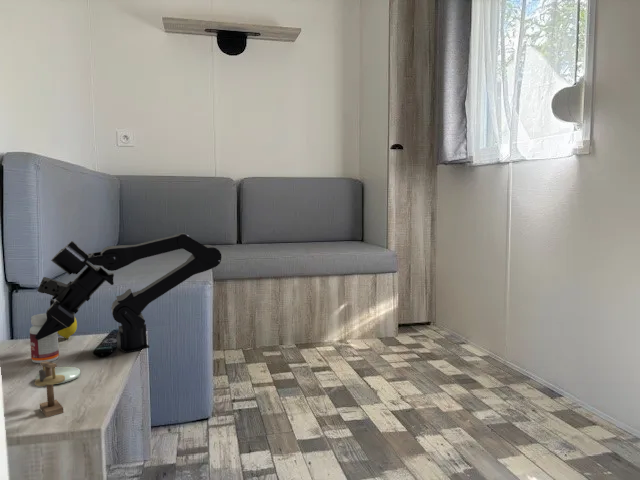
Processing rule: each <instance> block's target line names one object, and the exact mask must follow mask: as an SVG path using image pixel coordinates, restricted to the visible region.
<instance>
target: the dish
mask: <svg viewBox="0 0 640 480" xmlns="http://www.w3.org/2000/svg"><path fill="white" fill-rule="evenodd" d="M55 375H64V376H65V380H64V381H63V382H61V383H58V384H57V385H59V384H65V383H67V382H71V381H73V380H76V379H77V378H79V377H80V376H81V370H80V368H78V367H75V366H59V367H55ZM39 378H40V376H39V373H38V374H37V375H35V380H37V379H39Z"/></svg>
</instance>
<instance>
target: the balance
mask: <svg viewBox="0 0 640 480" xmlns="http://www.w3.org/2000/svg"><path fill="white" fill-rule="evenodd" d="M39 364H40V366H41V367H42V369H40V370H39V373H38V374H39V376H40V378H39V379H37V380H36V379H35V380H34V385H35V386H37V387H44V386H46V399H47V400H46V401H44V402H40V403H39V409H40V411H41V412H42V414H43V415H44V416H45V417H46V418H48V417H52V416H56V415H59V414H63V413H64V407H63V406H62V404H61V403H60V402H59V400H57V399H55V389H54V385H59V384H58V383H61V382H63V381H64V380H65V376H64V375H55V368H58V366H57V363H56V362H53V361H51V362H47V361H45V362H40V363H39ZM61 384H62V383H61Z"/></svg>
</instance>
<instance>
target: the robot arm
mask: <svg viewBox="0 0 640 480" xmlns="http://www.w3.org/2000/svg"><path fill="white" fill-rule="evenodd" d="M182 249H183V250H185V251H186V252H189V254H191V255H190V256H189V257H188V258H187V259H186V260H185V262H183V263H181V264H180V265H178V266H177V267H175V268H173V269H172V270H171V271H169V272H167V273H165V274H164V275H162V276H161V277H160V278H158V279H156V280H154V281H153V282H151V283H149V284H148V285H147V286H145V287H143V288H142V289H140V290H137V291H134V292H132V289H131V288H128V289H127V290H126V291H125V292H123V293H122V294H119V295H116V299H115V300H114V301H113V302H112V303H111V309H110V310H111V315H112V317H113V320H114V321H115V322H116V323H119V324H121V325H119V326H118V331H117V333H116V340H117V341H116V342H117V347H116V348H118V349H119V350H120V351H122V352H123V353H125V354H126V353H132V352H136V351H140V350H146V349H149V348H150V344H148V340H147V324H146V319H145V318H144V315H143V313H142V312H143V311H144V310H145V309H146V308H147V306H148V305H149V304H151V303H153V301H155V300H156V299H158V298H160V297H162V296H163V295H165V294H166V293H168V292H169V291H171V290H172V289H174V288H176V287H178V286H179V285H180V284H182V283H183V282H185V281H187V280H188V279H191V277H192V276H195V275H198V274H200V273H204V272H208V271H209V270H212V269H214V268H217V267H218V266H219V265H220V264H221V261H222V253H221V251H220V250H219V249H218V248H216V247H215V246H212V245H210V244H202V243H200V242H198V241H197V240H196V239H193V238H192V237H190V235H188V234H187V233H184V232H178V233H177V234H175V235H170V236H166V237H161V238H158V239H157V238H156V239H154V240H153V239H152V240H149V241H145V242H142V243H137V244H122V245H121V244H120V245H110V246H107V247H104V248H103V249H102V250H101V251H98V252H97V251H96V252H91V253H87V252H86V251H84V250H83V249H82V248H81V247H79V245H78V244H77V243H76V242H74V240H71V241H70V242H69V243H68V244H67V245H65V246H64V247H63V248H61V249H60V250H59V251H58V252H57V253H56V254H55V255H54V256H53V257H52V259H50V261H51V262H52V263H53V264H55V265H56V266H57V267H59V268H60V269H61V270H62V271H64V272H65V273H67V274H68V275H69V276H71V274H73V275H78V274H79V275H78V276H77V277H76V278H75V279H74V280H70V281H68V283H67V284H66V283H64V282H62V281H58V280H55V279H53V278H50V277H47V276H46V277H45V276H43V277H42V280H41V282H40V284H39V286H38V288H37V291H36V292H38V293H40V294H46V295H50V296H52V297H51V299H50V300H49V303H50V305H49V308H48V309H47V310H46V312H45V313H46V315H47V320H46V321H45V323H44V324H43V326H42V327H41V329H40V330H39V332H38V333H37V334H36V336H35V338H36V339H37V340H40V339H42V338H44V337H46V336H48V335H51V334H53V333H55V332H57V331H60V330H62V329H64V328H67V327H70V326H71V325H72V324H73V323H74V322H75V318H76V314H77V313H78V312H79V309H80V308H81V307H82V306H83V305H84V304H85V303H86V302H89V300H90V299H91V297H92V296H93V295H94V293H96V292H97V290H98V289H99V288H100V287H101V286H102V285H103V284H104V283H105V282H107V283H108V284H110V286H113V285H114V283H115V282H114V276H115V274H114V273H115V271H118V270H121V269H123V268H125V267H127V266H129V265H131V264H132V263H134V262H136V261H138V260H142V259H146V258H149V257H153V256H158V255H161V254H162V255H163V254H165V253H169V252H173V251H177V250H182ZM86 266H87V267H86ZM95 266H97V268H96V267H95ZM98 266H99V267H98ZM85 267H86V268H85ZM102 267H103V268H104V269H103V268H102ZM84 268H85V269H84ZM83 269H84V270H83ZM82 270H83V271H82ZM106 270H107V271H106ZM108 271H109V272H110V271H111V273H109V272H108ZM113 271H114V273H113ZM80 272H81V273H80Z"/></svg>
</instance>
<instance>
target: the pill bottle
mask: <svg viewBox="0 0 640 480" xmlns="http://www.w3.org/2000/svg"><path fill="white" fill-rule="evenodd" d="M30 320H31V322H30V323H31V325H32V326H31V327H30V328H29V341H30V342H29V343H30V357H31V361H32V362H33V363H34V364H41V363H40V362H45V361H47V362H54V361H56V360H57V359H58V358H59V357H60V350H59V347H60V346H59V334H58V331H57V332H55V333H53V334H51V335H48V336H46V337H44V338H42V339H40V340H37V339H36V338H35V336H36V334H37V333H38V332H39V330H40V329H41V327H42V326H43V324H44V323H45V321H46V320H47V315H46V312H45V313H38V314H34V315H32V316H31V317H30Z"/></svg>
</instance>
